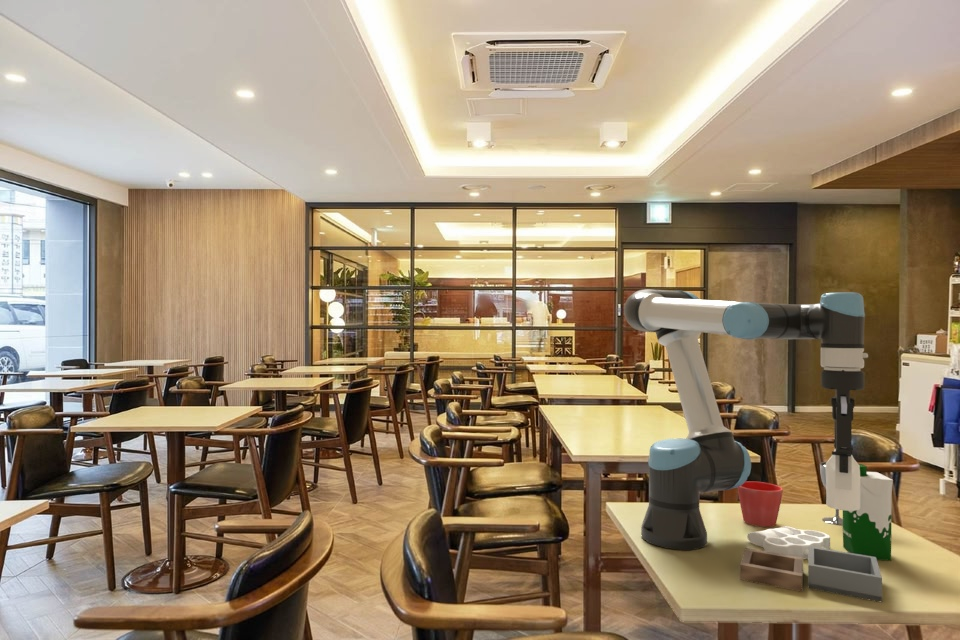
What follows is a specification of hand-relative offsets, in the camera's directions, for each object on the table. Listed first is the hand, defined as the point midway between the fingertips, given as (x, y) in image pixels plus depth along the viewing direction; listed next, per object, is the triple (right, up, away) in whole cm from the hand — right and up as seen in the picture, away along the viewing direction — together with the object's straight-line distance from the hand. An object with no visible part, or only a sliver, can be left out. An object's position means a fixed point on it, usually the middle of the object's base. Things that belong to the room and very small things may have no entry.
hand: (842, 485), depth 119 cm
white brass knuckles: (0, -21, +19) cm, 28 cm away
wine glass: (+23, -21, +39) cm, 50 cm away
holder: (-13, -20, +3) cm, 24 cm away
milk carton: (+15, -20, +16) cm, 30 cm away
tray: (0, -20, 0) cm, 20 cm away
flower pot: (+1, -21, +38) cm, 43 cm away
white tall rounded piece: (0, -5, 0) cm, 5 cm away
